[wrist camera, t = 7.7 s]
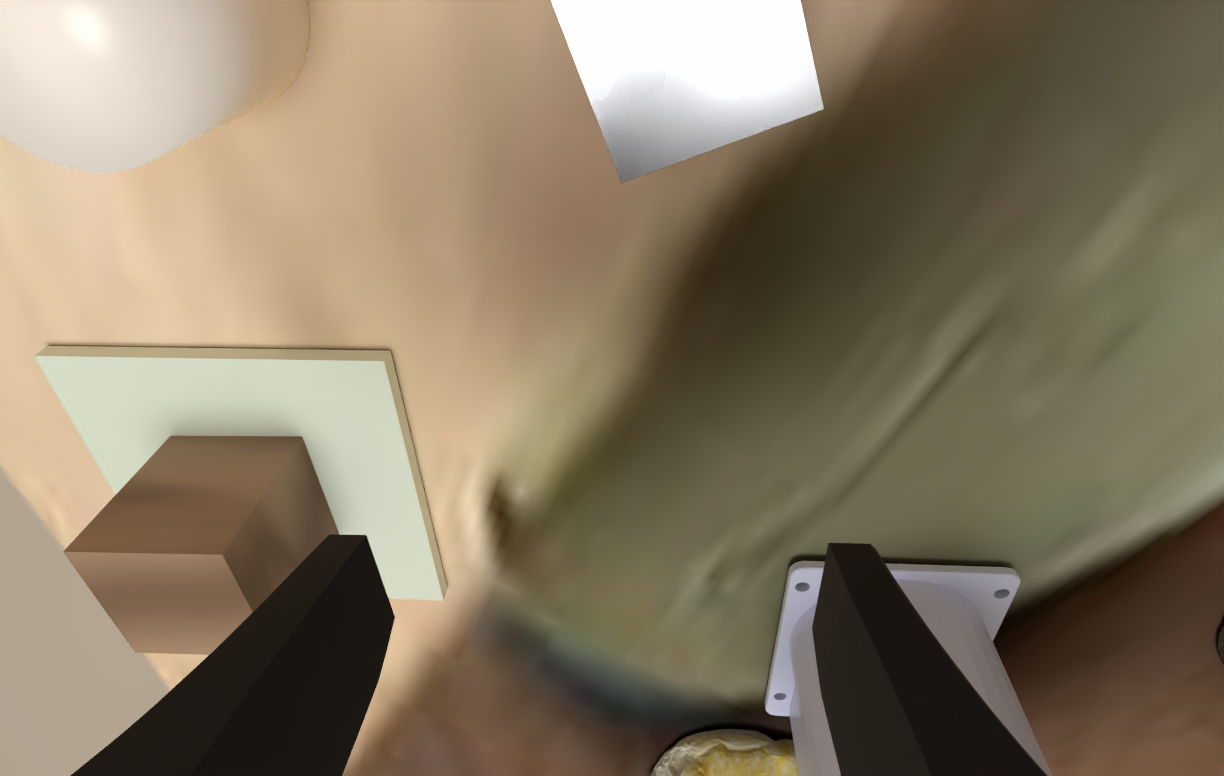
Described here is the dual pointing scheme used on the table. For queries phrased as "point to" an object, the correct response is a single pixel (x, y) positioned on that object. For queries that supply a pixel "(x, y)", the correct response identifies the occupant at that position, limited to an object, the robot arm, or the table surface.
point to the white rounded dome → (139, 73)
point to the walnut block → (202, 538)
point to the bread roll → (729, 755)
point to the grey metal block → (688, 73)
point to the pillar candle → (1221, 644)
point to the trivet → (267, 430)
